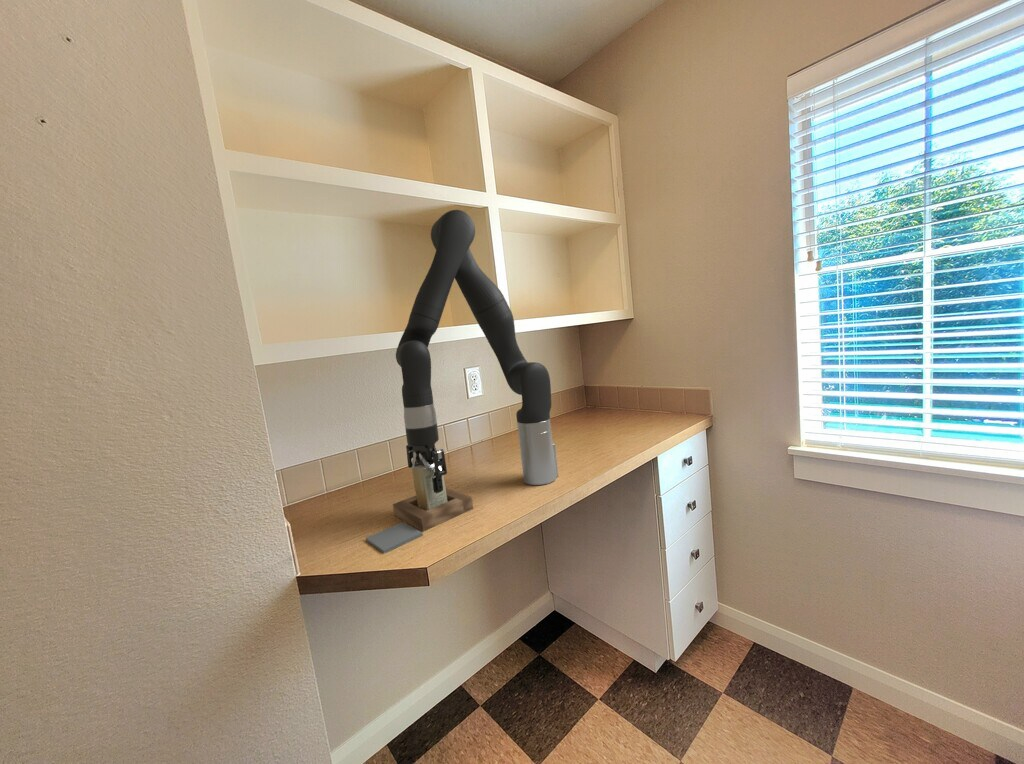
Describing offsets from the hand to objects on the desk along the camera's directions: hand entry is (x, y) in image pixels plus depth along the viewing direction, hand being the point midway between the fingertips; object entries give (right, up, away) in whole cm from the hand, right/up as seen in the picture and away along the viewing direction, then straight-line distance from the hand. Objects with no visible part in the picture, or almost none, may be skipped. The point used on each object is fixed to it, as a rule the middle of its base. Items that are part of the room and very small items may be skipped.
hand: (429, 488), depth 98 cm
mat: (-5, -8, -10) cm, 14 cm away
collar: (+1, -6, +1) cm, 6 cm away
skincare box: (+1, -6, +1) cm, 7 cm away
